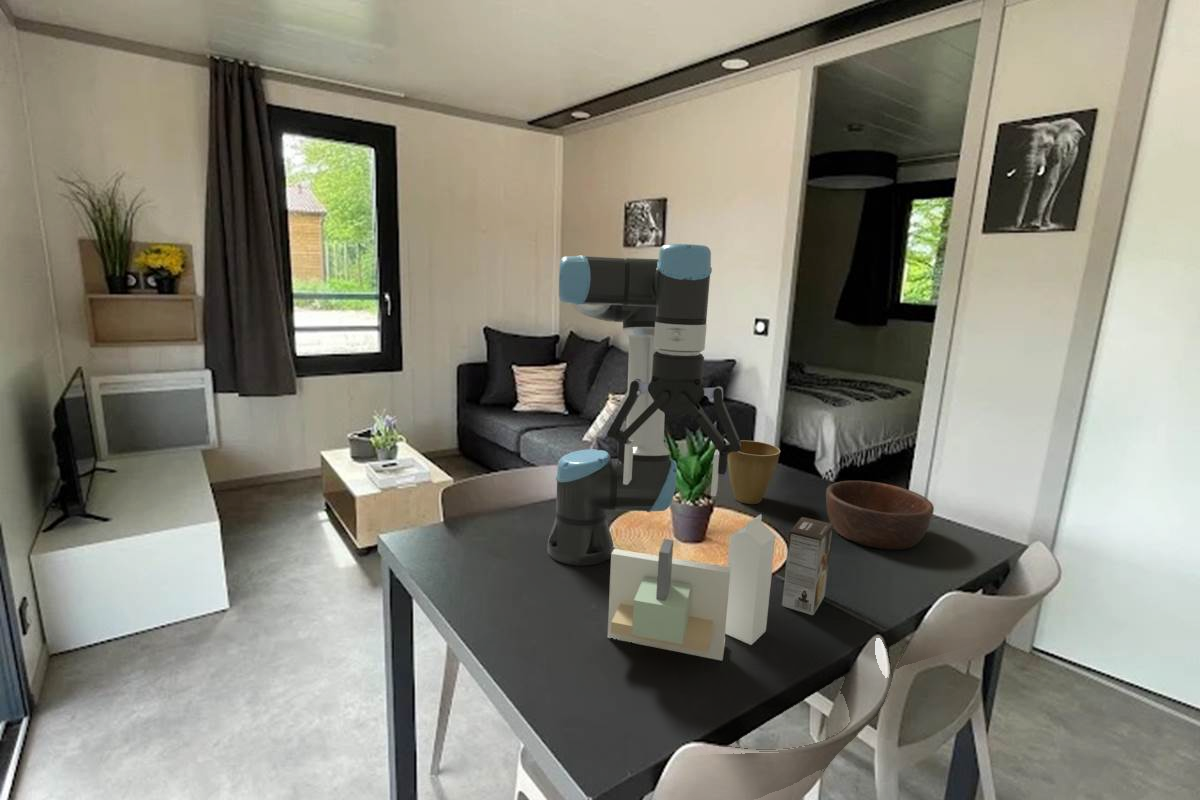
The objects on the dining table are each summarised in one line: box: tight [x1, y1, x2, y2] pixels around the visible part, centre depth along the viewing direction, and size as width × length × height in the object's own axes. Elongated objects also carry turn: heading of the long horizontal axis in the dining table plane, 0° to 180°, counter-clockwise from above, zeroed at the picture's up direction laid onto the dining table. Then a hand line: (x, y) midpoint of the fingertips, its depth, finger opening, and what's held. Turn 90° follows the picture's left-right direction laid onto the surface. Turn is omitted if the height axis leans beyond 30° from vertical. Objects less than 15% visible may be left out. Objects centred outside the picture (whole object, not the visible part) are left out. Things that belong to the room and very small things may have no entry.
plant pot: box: [727, 440, 781, 505], centre depth 175 cm, size 15×15×16 cm
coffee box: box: [781, 516, 834, 616], centre depth 120 cm, size 9×6×16 cm
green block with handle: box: [632, 538, 691, 644], centre depth 97 cm, size 8×8×14 cm
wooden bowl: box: [825, 480, 935, 551], centre depth 155 cm, size 25×25×10 cm
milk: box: [725, 514, 777, 646], centre depth 108 cm, size 6×6×22 cm
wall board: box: [607, 548, 731, 661], centre depth 102 cm, size 20×10×16 cm, turn 74°
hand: (669, 487), depth 94 cm, fingers open, 13 cm apart
